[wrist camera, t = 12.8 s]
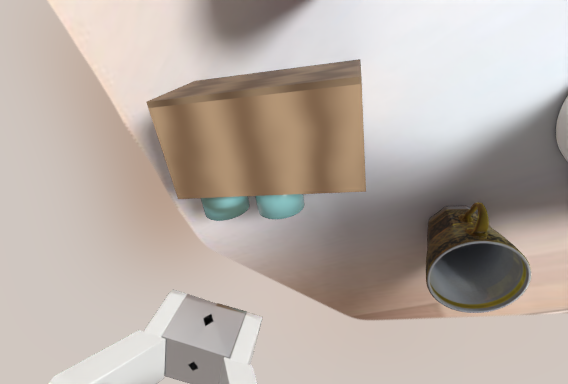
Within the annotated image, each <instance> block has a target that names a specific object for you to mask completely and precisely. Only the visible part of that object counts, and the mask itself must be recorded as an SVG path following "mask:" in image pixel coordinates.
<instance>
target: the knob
mask: <svg viewBox="0 0 568 384" xmlns="http://www.w3.org/2000/svg"><path fill="white" fill-rule="evenodd" d="M256 201H257V206H258V211H259V214H260V215H261V216H263V217H265V218H268V219H283V218H288V217H291V216H294V215H296V214H297V213H299V212H300V211H301V210H302V209H303V208H304V198H303V194H289V195H264V196H256Z"/></svg>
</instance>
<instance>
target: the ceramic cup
mask: <svg viewBox="0 0 568 384" xmlns="http://www.w3.org/2000/svg"><path fill="white" fill-rule="evenodd" d="M477 209H478V215H477V214H476V213H475V211H476V210H477ZM427 244H428V251H427V257H426V282H427V287H428V289H429V291H430V293H431V294H432V296H433V297H434V298H435V299H436V300H437V301H438V302H440V303H441V304H443V305H444V306H446V307H448V308H451V309H453V310H457V311H461V312H468V313H482V312H489V311H494V310H497V309H500V308H503V307H505V306H507V305H509V304H511V303H513V302H514V301H515V300H517V299H518V298H519V297H520V296H521V295H522V294H523V293H524V292H525V291H526V289H527V287H528V285H529V283H530V280H531V268H530V265H529V263H528V261H527V259H526V258H525V256H524V255H523V254H522V253H521V252H520V251H519V250H518V249H517V248H516V247H515V246H514V245H513V244H511V243H510V242H509V241H508V240H507V239H506V238H504V237H503V236H502V235H501V234H499V233H498V232H496V231H495V230H493V229H492V228H491V227H490V226H489V219H488V214H487V211H486V208H485V206H484V205H483V204H482V203H479V202H477V203H474V204H473V205H472V207H471V208H469V207H467V206H446V207H445V208H443V209H442V210H440V211H439V212H438V213H437V214H435V215H434V216H433V217H431V218H430V219H429V222H428V235H427Z"/></svg>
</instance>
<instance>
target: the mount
mask: <svg viewBox="0 0 568 384" xmlns="http://www.w3.org/2000/svg"><path fill="white" fill-rule="evenodd" d="M147 105H148V108H149V111H150V114H151V117H152V120H153V124H154V127H155V130H156V133H157V136H158V139H159V142H160V145H161V148H162V151H163V154H164V157H165V160H166V163H167V166H168V169H169V172H170V175H171V178H172V182H173V185H174V188H175V191H176V194H177V197H178V199H189V198H201V201H202V204H203V208H204V211H205V214H206V217H207V218H209V219H211V220H216V221H222V220H229V219H232V218H235V217H238V216H240V215H241V214H243V213H244V212H246V211H247V210H248V208H249V200H248V196H264V195H289V194H314V193H340V192H365V191H366V182H365V157H364V132H363V107H362V83H361V64H360V60H352V61H345V62H337V63H329V64H322V65H314V66H306V67H299V68H291V69H283V70H276V71H268V72H260V73H253V74H245V75H237V76H230V77H222V78H215V79H207V80H199V81H194V82H191V83H189V84H187V85H185V86H182V87H180V88H178V89H175V90H173V91H171V92H168V93H166V94H164V95H161V96H159V97H157V98H154V99H152V100H150V101H147Z"/></svg>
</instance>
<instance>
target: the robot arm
mask: <svg viewBox="0 0 568 384" xmlns="http://www.w3.org/2000/svg"><path fill="white" fill-rule="evenodd" d="M556 139H557V144H558V147H559V149H560V151H561V153H562V155H563V156H564V158H565V159H566V160H567V162H568V96H567V98H566V99H565V101H564V103H563V105H562V107H561V110H560V112H559V115H558V119H557V125H556ZM261 322H262V316H258V315H255V314H251V313H248V312H246V311H243V310H239V309H236V308H232V307H229V306H225V305H222V304H216V303H213V302H210V301H207V300H204V299H201V298H198V297H195V296H192V295H189V294H186V293H182V292H180V291H177V290H172V291H171V292H170V293H169V294H168V295H167V297H166V299H165V300H164V301H163V303H162V304H161V306H160V307H159V309H158V310H157V312H156V313H155V315H154V316H153V318H152V319H151V321H150V322H149V324H148V325H147V327H146V328H145V330H144V331H140V330H138V331H136V332H135V333H133V334H131V335H129V336H127V337H125V338H123V339H122V340H120V341H118V342H116V343H114V344H112V345H111V346H109V347H107V348H105V349H103V350H101V351H99V352H98V353H96V354H94V355H92V356H90V357H88V358H87V359H85V360H83V361H81V362H79V363H78V364H76V365H74V366H72V367H70V368H68V369H66V370H65V371H63V372H61V373H59V374H57V375H55V376H54V377H53V379H52V380H51V381H50V382H49V383H48V384H157V383H159V382H160V381H161V380H163V379H164V376H166V377H170V378H173V379H176V380H180V381H183V382H187V383H190V384H257V381H256V377H255V373H254V370H253V366H251V365H250V363H251V359H252V356H253V352H254V348H255V345H256V341H257V337H258V333H259V329H260V325H261Z"/></svg>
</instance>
